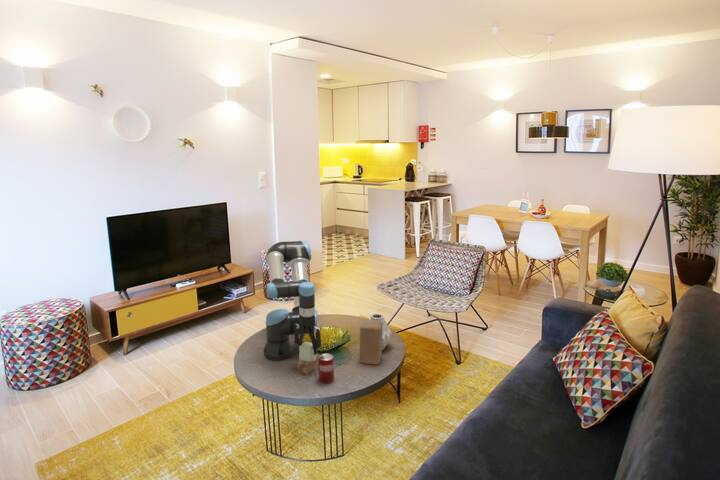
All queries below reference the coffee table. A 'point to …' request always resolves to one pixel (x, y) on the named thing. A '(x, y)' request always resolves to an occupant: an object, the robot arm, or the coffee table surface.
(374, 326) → the wooden block
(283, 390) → the coffee table surface
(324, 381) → the soda can
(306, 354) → the sage block
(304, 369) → the walnut block
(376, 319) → the vase
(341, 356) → the coffee table surface
